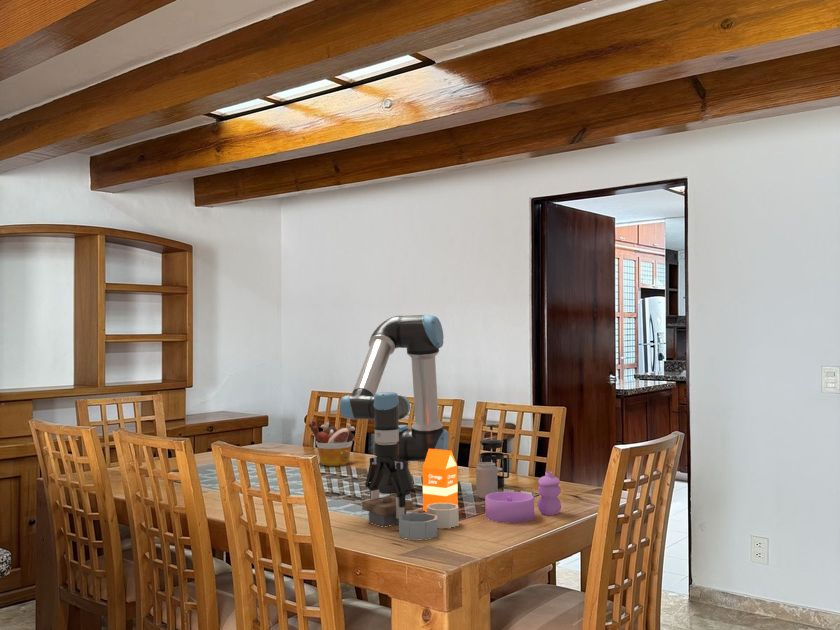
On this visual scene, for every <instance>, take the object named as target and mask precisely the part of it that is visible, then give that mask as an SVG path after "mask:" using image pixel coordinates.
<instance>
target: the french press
mask: <svg viewBox="0 0 840 630" xmlns="http://www.w3.org/2000/svg"><path fill="white" fill-rule="evenodd" d="M497 426H498V425H496V424H486V425H485V427H489V430H490V438H489V439H481V440H479V443H480V444H481V445H482V446H483V447H484V448H486V449H490V452H489V451H488V452H480V453H479V463H482V460H486V462H491V463H495V466H496V467H497V473H501V472H502V475H498V474H497V479H498V489H502V487H503V488H505V487H504V486H505V479H509V478H510V459H509V458H510V455H509V454H508V453H501V452H496V451H495V452H494V451H493V449H501V448H503V443H504V440H502V439H495V438H493V428H495V427H497ZM505 456H506V468H507V469H506V472H507V473H506V475H505V458H504V457H505ZM498 460H501V461H502V463H501V467H499V466H498Z"/></svg>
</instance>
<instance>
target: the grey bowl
mask: <svg viewBox="0 0 840 630" xmlns="http://www.w3.org/2000/svg"><path fill="white" fill-rule="evenodd" d="M437 533H438V529H437V515H433V514H429V513H427V512H410V513H406V514H405V515H401V516H399V524H398V537H399V536H400V537H403V538H402V539H404V538H407V539H410V540H409V541H414V540H413V539H428V540H430V539H429V538H432V539H435V538H438V534H437ZM400 537H399V538H400ZM434 537H435V538H434ZM407 539H406V540H407Z"/></svg>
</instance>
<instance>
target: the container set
mask: <svg viewBox="0 0 840 630" xmlns="http://www.w3.org/2000/svg"><path fill="white" fill-rule="evenodd" d="M537 482H538V484H539V485H538V487H537V492H538V495H539V496H540V498H539V500H538V501H537V509H538V511H539V512H540V513H541V515H544V514H545V516H555V514H556V515H558V514H559V513H560V511H561V510H562V503H561V500H560V499H559V498H558V496H559V495H560V494H561V492H562V489H561V487H560V482H561V480H560V479H559V478H558V477H557V476H553V472H552V471H545V475H543V476H541V477H540V478H538V481H537ZM484 504H485V505H484V506H485V508H484V509H485V510H484V511H485V518H486V519H487V520H488V519H489V521H491V520H493V521H492V522H495V521H497V522H496V523H502V522H509V523H508V524H518V522H521V523H526V521H527V522H530V521H533V520H534V519H535V496H534V495H533V494H530V493H526V492H521V491H498V492H495V493H490V494H487V495H486V496H485V499H484ZM532 519H533V520H532ZM529 520H530V521H529Z"/></svg>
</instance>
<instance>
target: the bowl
mask: <svg viewBox="0 0 840 630" xmlns="http://www.w3.org/2000/svg"><path fill="white" fill-rule="evenodd" d="M426 513H429V514H433V515H437V528H450V529H452V528H451V527H454V528H456V527H455V526H458V527H460V525H459V523H460V521H459V504H458V505H456V504H452V503H434V504H430V505H427V512H426Z"/></svg>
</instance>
